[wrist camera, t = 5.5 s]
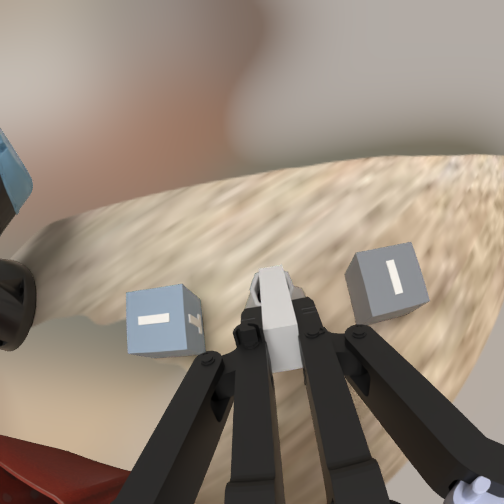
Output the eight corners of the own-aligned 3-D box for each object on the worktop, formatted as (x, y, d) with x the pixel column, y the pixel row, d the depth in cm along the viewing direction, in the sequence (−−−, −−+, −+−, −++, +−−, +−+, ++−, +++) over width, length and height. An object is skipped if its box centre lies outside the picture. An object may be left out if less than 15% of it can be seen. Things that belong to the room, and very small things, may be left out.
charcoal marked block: (356, 327, 28) (373, 316, 22) (344, 274, 30) (356, 252, 25) (407, 314, 27) (431, 300, 22) (393, 264, 30) (413, 240, 24)
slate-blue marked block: (155, 358, 29) (127, 353, 23) (152, 306, 31) (125, 292, 26) (207, 353, 29) (188, 348, 23) (202, 299, 31) (183, 283, 26)
